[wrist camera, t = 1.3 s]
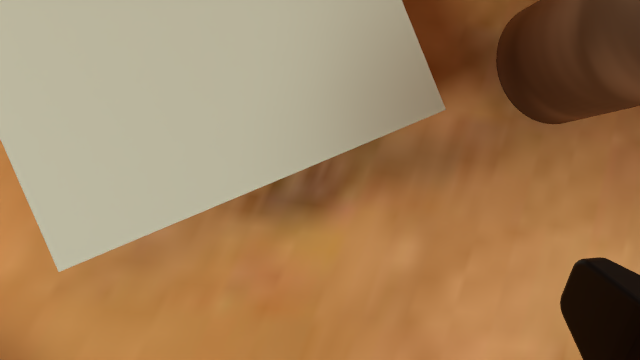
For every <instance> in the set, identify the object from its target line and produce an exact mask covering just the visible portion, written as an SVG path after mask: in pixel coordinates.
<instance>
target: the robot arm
mask: <svg viewBox="0 0 640 360" xmlns="http://www.w3.org/2000/svg"><path fill="white" fill-rule="evenodd" d="M560 306H561V311H562V314H563V317H564V319H565V321H566V323H567V325H568V328H569V330H570V332H571V334H572V336H573V339H574V341H575V343H576V345H577V347H578V349H579V352H580V354H581V356H582V358H583V360H640V275H638V274H636V273H634V272H632V271H630V270H628V269H626V268H624V267H622V266H620V265H618V264H616V263H614V262H612V261H610V260H608V259H606V258H588V259H581V260H579V261H577V262H576V263H575V265H574V266H573V269H572V271H571V274H570V276H569V278H568V281H567V283H566V286H565V288H564V291H563V293H562V296H561V301H560Z"/></svg>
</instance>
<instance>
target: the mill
mask: <svg viewBox="0 0 640 360" xmlns="http://www.w3.org/2000/svg"><path fill="white" fill-rule="evenodd" d="M496 62H497V71H498V76H499V79H500V82H501V85H502V87H503V89H504V92H505V93H506V95H507V97H508V98H509V100H510V101H511V102H512V103H513V105H514V106H515V107H516V108H517V109H518V110H519V111H521V112H522V113H523V114H525V115H526V116H528V117H530V118H531V119H534V120H536V121H539V122H542V123H547V124H561V123H566V122H570V121H575V120H579V119H583V118H588V117H592V116H596V115H601V114H605V113H609V112H614V111H618V110H622V109H627V108H631V107H635V106H640V0H540V1H538V2H536V3H534V4H533V5H531V6H529V7H528V8H526V9H524V10H522V11H521V12H519V13H518V14H517V15H515V16H514V17H513V18H512V19H511V20H510V22H509V23H508V24H507V25H506V27H505V29H504V30H503V32H502V35H501V37H500V40H499V43H498V48H497V59H496Z"/></svg>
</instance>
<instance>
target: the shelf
mask: <svg viewBox="0 0 640 360" xmlns="http://www.w3.org/2000/svg"><path fill="white" fill-rule="evenodd" d="M444 110H446V109H445V106H444V104H443V101H442V99H441V96H440V94H439V91H438V89H437V86H436V84H435V81H434V79H433V77H432V74H431V72H430V69H429V67H428V64H427V62H426V59H425V57H424V54H423V52H422V49H421V47H420V44H419V42H418V39H417V37H416V34H415V32H414V29H413V27H412V24H411V22H410V19H409V17H408V14H407V12H406V9H405V7H404V5H403V2H402V0H0V139H1V141H2V144H3V146H4V148H5V150H6V153H7V155H8V157H9V160H10V162H11V164H12V166H13V169H14V171H15V173H16V176H17V178H18V180H19V182H20V185H21V187H22V189H23V192H24V194H25V196H26V198H27V201H28V203H29V205H30V207H31V210H32V212H33V214H34V217H35V219H36V221H37V223H38V226H39V228H40V230H41V233H42V235H43V237H44V239H45V242H46V244H47V246H48V248H49V251H50V253H51V255H52V258H53V260H54V262H55V264H56V267H57V269H58V271H59V272H60V271H62V270H65V269H67V268H69V267H72V266H74V265H77V264H79V263H81V262H84V261H86V260H89V259H91V258H93V257H96V256H98V255H100V254H103V253H105V252H108V251H110V250H112V249H115V248H117V247H120V246H122V245H124V244H127V243H129V242H131V241H134V240H136V239H139V238H141V237H143V236H146V235H148V234H151V233H153V232H155V231H158V230H160V229H162V228H165V227H167V226H170V225H172V224H174V223H177V222H179V221H182V220H184V219H186V218H189V217H191V216H193V215H196V214H198V213H201V212H203V211H205V210H208V209H210V208H213V207H215V206H217V205H220V204H222V203H224V202H227V201H229V200H232V199H234V198H236V197H239V196H241V195H244V194H246V193H248V192H251V191H253V190H255V189H258V188H260V187H263V186H265V185H267V184H270V183H272V182H275V181H277V180H279V179H282V178H284V177H286V176H289V175H291V174H294V173H296V172H298V171H301V170H303V169H306V168H308V167H310V166H313V165H315V164H317V163H320V162H322V161H325V160H327V159H329V158H332V157H334V156H337V155H339V154H341V153H344V152H346V151H348V150H351V149H353V148H356V147H358V146H360V145H363V144H365V143H367V142H370V141H372V140H375V139H377V138H379V137H382V136H384V135H387V134H389V133H391V132H394V131H396V130H398V129H401V128H403V127H406V126H408V125H410V124H413V123H415V122H418V121H420V120H422V119H425V118H427V117H429V116H432V115H434V114H437V113H439V112H441V111H444Z"/></svg>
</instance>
